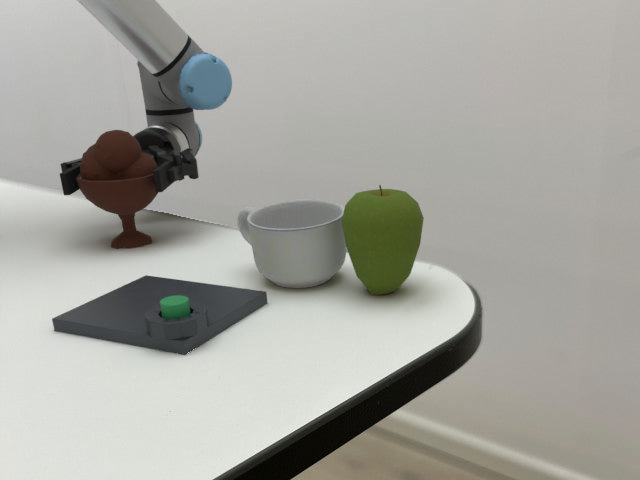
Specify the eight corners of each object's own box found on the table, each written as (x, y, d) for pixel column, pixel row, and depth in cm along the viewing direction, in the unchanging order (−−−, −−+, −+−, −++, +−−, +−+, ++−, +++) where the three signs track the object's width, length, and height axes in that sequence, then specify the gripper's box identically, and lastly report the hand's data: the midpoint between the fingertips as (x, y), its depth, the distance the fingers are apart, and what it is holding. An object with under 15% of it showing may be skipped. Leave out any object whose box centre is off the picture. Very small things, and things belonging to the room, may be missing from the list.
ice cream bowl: (188, 235, 106) (173, 123, 100) (135, 259, 97) (115, 137, 90) (128, 229, 110) (110, 121, 104) (72, 251, 101) (48, 134, 95)
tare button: (156, 318, 70) (153, 303, 70) (174, 309, 72) (171, 293, 72) (179, 322, 69) (176, 306, 69) (196, 312, 71) (194, 297, 71)
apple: (397, 311, 77) (396, 197, 72) (328, 298, 81) (322, 189, 76) (437, 285, 84) (438, 179, 79) (371, 274, 88) (368, 173, 83)
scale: (52, 332, 75) (46, 304, 74) (147, 286, 87) (143, 261, 86) (185, 357, 69) (181, 326, 67) (269, 304, 80) (267, 277, 79)
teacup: (368, 277, 87) (365, 208, 83) (294, 303, 80) (288, 229, 77) (290, 254, 96) (284, 191, 93) (218, 276, 89) (209, 208, 86)
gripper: (237, 174, 117) (207, 209, 97) (86, 179, 118) (25, 215, 98) (232, 123, 114) (199, 149, 94) (76, 129, 115) (12, 155, 95)
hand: (110, 183), depth 96 cm, fingers closed on ice cream bowl, 11 cm apart
